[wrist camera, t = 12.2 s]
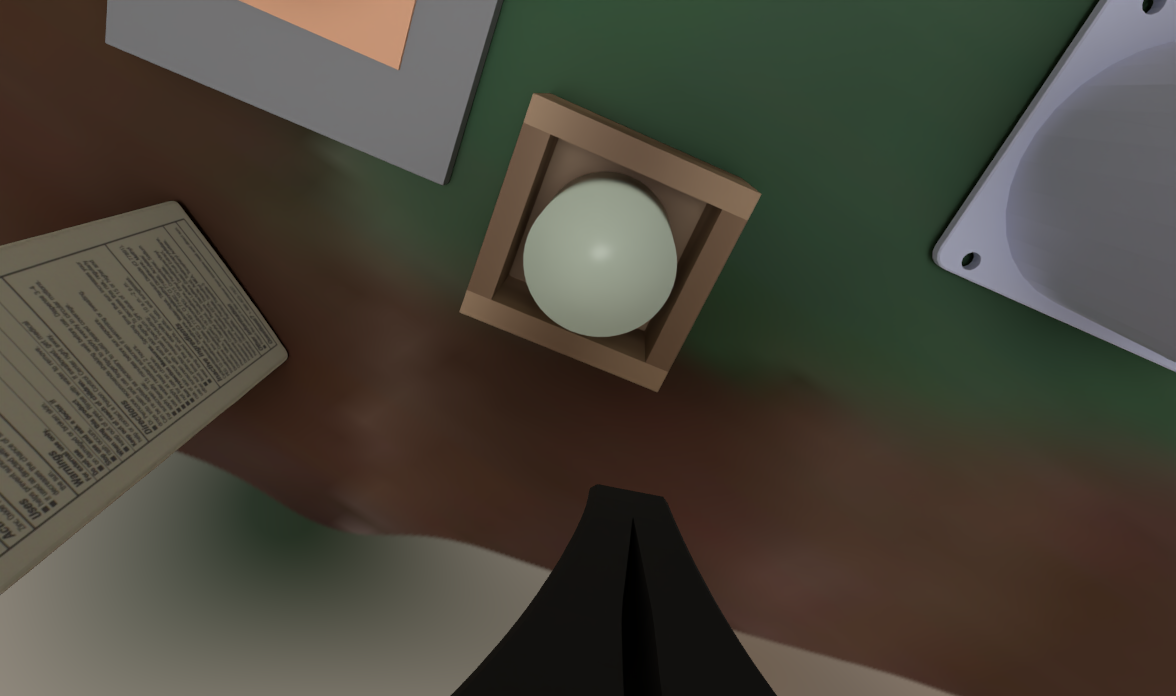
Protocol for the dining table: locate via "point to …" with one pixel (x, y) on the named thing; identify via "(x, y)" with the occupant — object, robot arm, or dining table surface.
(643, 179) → the button housing
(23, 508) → the skincare box
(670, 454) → the dining table surface
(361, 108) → the grey square plate
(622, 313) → the button
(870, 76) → the dining table surface
